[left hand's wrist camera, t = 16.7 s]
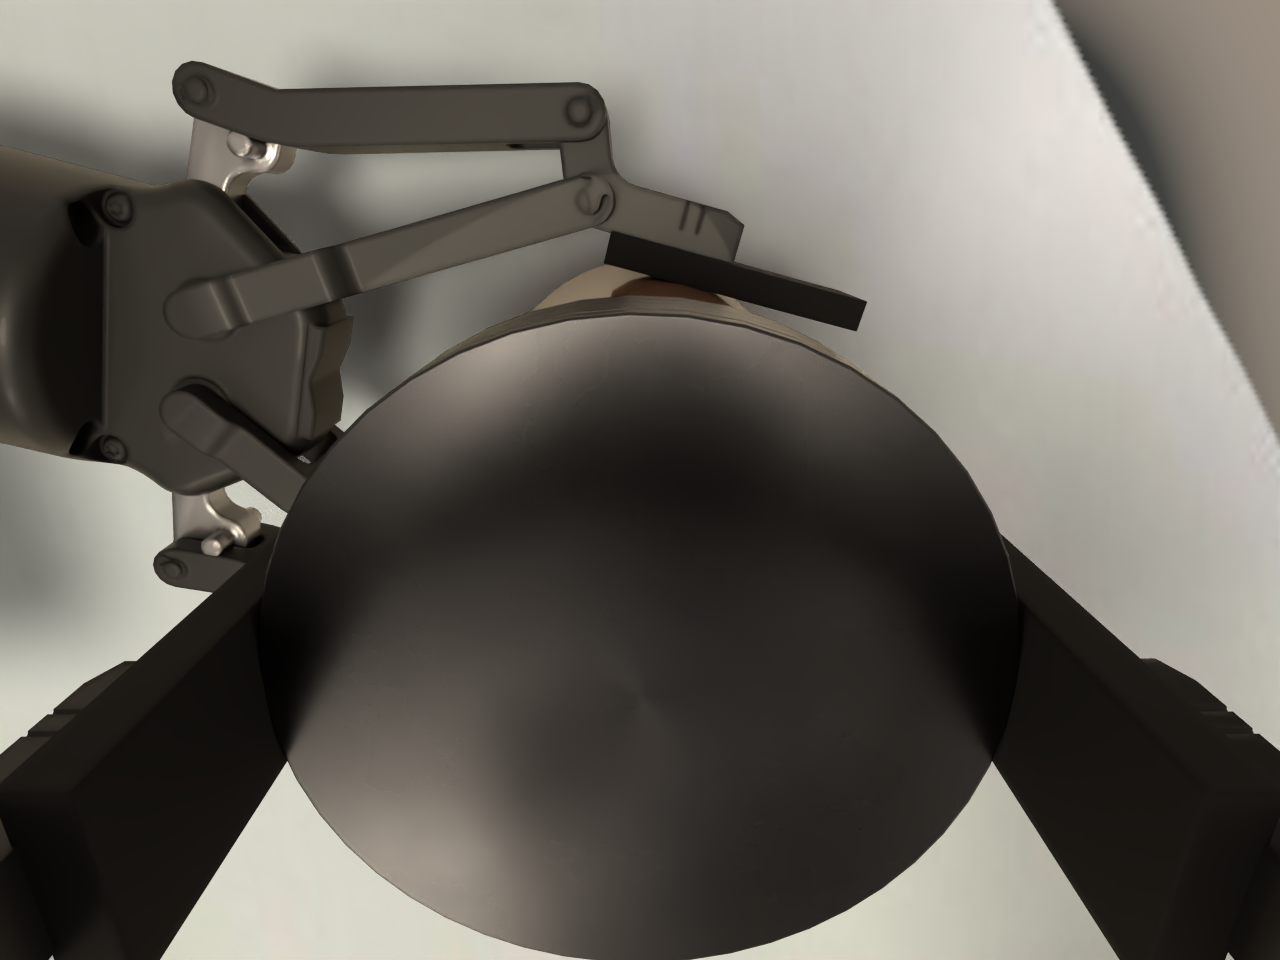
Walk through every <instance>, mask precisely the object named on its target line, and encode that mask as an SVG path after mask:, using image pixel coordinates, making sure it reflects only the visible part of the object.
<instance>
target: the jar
mask: <svg viewBox="0 0 1280 960" xmlns="http://www.w3.org/2000/svg"><path fill="white" fill-rule="evenodd" d="M627 295H638V296H661V297H681V298H687V299H692V300H698V301H704V302H709V303H715V304H720V305H726V306H730V307H733V308H736V309H739V310H743V311H746V312H749V311H748V310H747V309H745V308H744V307H743V306H742V305H741V304H740V303H739V302H738V301H737V300H736V299H734V298H730V297H727V296H723V295H719V294H715V293H712V292H708V291H704V290H701V289H697V288H693V287H689V286H686V285H682V284H678V283H675V282H671V281H667V280H663V279H660V278H656V277H652V276H649V275H645V274H641V273H637V272H634V271H630V270H626V269H623V268H619V267H615V266H611V265H608V264H607V265H604V266H600V267H596V268H594V269H591V270H589V271H586V272H584V273H581V274H579V275H577V276H576V277H574V278H572V279H570V280H569V281H567V282H565V283H564V284H562V285H561V286H560V287H558V288H557V289H556V290H555V291H553V292H552V293H551V294H549V295H548V296H547V297H546V298H545V299H544V300H543V301H542V302H541V303H540V304H538V305H537V306H536V307H535V308H534V309H533V310H532V311H534V310H539V309H543V308H547V307H552V306H556V305H560V304H565V303H569V302H573V301H578V300H584V299H594V298H605V297H616V296H627ZM749 313H750V312H749Z"/></svg>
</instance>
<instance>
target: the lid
mask: <svg viewBox="0 0 1280 960" xmlns="http://www.w3.org/2000/svg"><path fill="white" fill-rule="evenodd" d="M1020 646H1021V643H1020V624H1019V606H1018V597H1017V592H1016V588H1015V583H1014V578H1013V574H1012V569H1011V564H1010V560H1009V556H1008V553H1007V550H1006V548H1005V545H1004V543H1003V540H1002V538H1001V535H1000V532H999V530H998V527H997V525H996V522H995V520H994V517H993V514H992V512H991V510H990V509H989V507H988V505H987V504H986V502H985V500H984V498H983V497H982V495H981V493H980V492H979V490H978V488H977V486H976V485H975V483H974V481H973V480H972V478H971V476H970V475H969V473H968V471H967V470H966V469H965V467H964V466H963V465H962V464H961V463H960V461H959V460H958V459H957V458H956V456H955V455H954V454H953V453H952V451H951V450H950V449H949V448H948V447H947V445H946V444H945V443H944V442H943V440H942V439H941V438H940V437H939V435H938V434H937V433H936V432H935V431H934V430H933V429H932V428H931V427H930V426H928V425H927V424H926V423H925V422H924V421H923V420H922V419H921V418H920V417H919V416H917V415H916V414H915V413H914V412H913V411H912V410H911V409H910V408H909V407H908V406H906V405H905V404H904V403H903V402H902V401H901V400H900V399H899V398H898V397H896V396H895V395H894V394H892V393H891V392H889V391H888V390H887V389H885V388H884V387H883V386H881V385H880V384H878V383H877V382H876V381H874V380H873V379H871V378H870V377H869V376H867V375H866V374H864V373H863V372H862V371H860V370H859V369H858V368H856V367H855V366H853V365H852V364H850V363H849V362H847V361H846V360H844V359H843V358H841V357H840V356H838V355H837V354H835V353H834V352H832V351H831V350H829V349H828V348H826V347H825V346H823V345H822V344H820V343H819V342H817V341H815V340H813V339H811V338H809V337H807V336H805V335H803V334H801V333H799V332H797V331H795V330H793V329H790V328H788V327H786V326H784V325H782V324H780V323H778V322H776V321H774V320H770V319H767V318H764V317H761V316H758V315H755V314H752V313H749V312H746V311H743V310H739V309H736V308H733V307H730V306H726V305H720V304H715V303H709V302H704V301H698V300H692V299H687V298H681V297H661V296H638V295H627V296H616V297H605V298H594V299H584V300H578V301H573V302H569V303H565V304H560V305H556V306H552V307H547V308H543V309H539V310H534V311H531V312H529V313H526V314H523V315H521V316H518V317H515V318H513V319H510V320H508V321H505V322H502V323H500V324H497V325H494V326H492V327H489V328H487V329H485V330H483V331H482V332H480V333H478V334H476V335H474V336H472V337H471V338H469V339H467V340H465V341H463V342H462V343H460V344H458V345H456V346H454V347H452V348H451V349H449V350H447V351H445V352H444V353H443V354H441V355H440V356H439V357H437V358H436V359H434V360H433V361H432V362H430V363H429V364H427V365H426V366H425V367H423V368H422V369H420V370H419V371H418V372H416V373H415V374H414V375H412V376H411V377H409V378H408V379H407V380H405V381H404V382H403V383H401V384H400V385H399V386H397V387H396V388H395V389H393V390H392V391H391V392H389V393H388V394H387V395H385V396H384V397H383V398H381V399H380V400H379V401H377V402H376V403H375V404H373V405H372V406H371V407H369V408H368V409H367V410H366V411H365V412H364V413H363V414H362V415H361V416H360V417H359V418H358V419H357V420H356V421H355V422H354V423H353V424H352V425H351V426H350V427H349V428H348V429H347V430H346V431H345V432H344V433H343V434H342V435H341V436H340V437H339V438H338V439H337V440H336V441H335V442H334V443H333V444H332V445H331V446H330V448H329V449H328V451H327V452H326V453H325V455H324V456H323V457H322V459H321V460H320V462H319V463H318V464H317V466H316V467H315V468H314V470H313V471H312V473H311V474H310V475H309V477H308V478H307V480H306V481H305V482H304V484H303V485H302V486H301V488H300V490H299V492H298V494H297V496H296V498H295V500H294V502H293V504H292V506H291V508H290V510H289V512H288V514H287V516H286V518H285V520H284V522H283V524H282V526H281V528H280V530H279V533H278V537H277V540H276V543H275V546H274V549H273V552H272V555H271V558H270V561H269V565H268V568H267V571H266V575H265V582H264V588H263V595H262V601H261V608H260V614H259V662H260V668H261V674H262V680H263V685H264V690H265V695H266V700H267V705H268V709H269V713H270V717H271V720H272V723H273V726H274V729H275V732H276V736H277V739H278V742H279V744H280V746H281V748H282V750H283V752H284V755H285V757H286V759H287V761H288V763H289V765H290V767H291V769H292V771H293V773H294V775H295V777H296V779H297V781H298V782H299V784H300V786H301V787H302V789H303V790H304V792H305V793H306V795H307V796H308V798H309V799H310V801H311V802H312V804H313V805H314V807H315V808H316V810H317V811H318V813H319V814H320V815H321V817H322V818H323V819H324V820H325V821H326V822H327V824H328V825H329V826H330V827H331V828H332V829H333V831H334V832H335V833H336V834H337V835H338V836H339V837H340V839H341V840H342V841H343V842H344V843H345V844H346V846H348V847H349V848H350V849H351V850H352V851H353V852H354V853H355V854H356V855H357V856H359V857H360V858H361V859H362V860H363V861H364V862H365V863H366V864H367V865H368V866H369V867H371V868H372V869H373V870H374V871H375V872H376V873H377V874H379V875H380V876H381V877H383V878H384V879H386V880H387V881H388V882H390V883H391V884H393V885H394V886H395V887H397V888H398V889H399V890H401V891H402V892H404V893H405V894H406V895H408V896H409V897H411V898H412V899H414V900H416V901H418V902H419V903H421V904H423V905H425V906H426V907H428V908H430V909H432V910H433V911H435V912H437V913H439V914H440V915H442V916H444V917H446V918H448V919H450V920H452V921H455V922H457V923H459V924H462V925H464V926H466V927H468V928H471V929H473V930H475V931H477V932H480V933H482V934H484V935H487V936H490V937H494V938H497V939H500V940H503V941H506V942H509V943H512V944H515V945H518V946H521V947H525V948H529V949H534V950H538V951H543V952H547V953H552V954H556V955H561V956H566V957H574V958H582V959H590V960H692V959H698V958H704V957H711V956H717V955H723V954H729V953H734V952H737V951H741V950H745V949H749V948H753V947H757V946H760V945H764V944H768V943H772V942H774V941H777V940H780V939H783V938H785V937H788V936H791V935H793V934H796V933H799V932H802V931H804V930H807V929H810V928H812V927H814V926H816V925H818V924H820V923H822V922H824V921H826V920H828V919H830V918H832V917H834V916H836V915H838V914H841V913H843V912H845V911H847V910H848V909H850V908H852V907H853V906H855V905H856V904H858V903H860V902H861V901H863V900H864V899H866V898H868V897H869V896H871V895H872V894H874V893H876V892H877V891H879V890H880V889H882V888H883V887H885V886H886V885H887V884H888V883H890V882H891V881H892V880H893V879H895V878H896V877H897V876H898V875H900V874H901V873H902V872H904V871H905V870H906V869H907V868H909V867H910V866H911V865H912V864H914V863H915V862H916V861H917V860H918V859H919V858H920V857H921V856H922V855H923V854H924V853H925V852H926V851H927V850H928V849H929V848H930V847H931V846H932V845H933V844H934V843H935V842H936V841H937V840H938V839H939V838H940V837H941V836H942V835H943V834H944V833H945V831H946V830H947V829H948V827H949V826H950V825H951V824H952V822H953V821H954V820H955V818H956V817H957V816H958V815H959V813H960V812H961V811H962V810H963V808H964V807H965V806H966V804H967V803H968V802H969V800H970V799H971V797H972V795H973V794H974V792H975V790H976V788H977V787H978V785H979V783H980V782H981V780H982V778H983V777H984V775H985V773H986V772H987V770H988V768H989V766H990V764H991V762H992V760H993V757H994V755H995V752H996V750H997V748H998V745H999V743H1000V740H1001V738H1002V736H1003V733H1004V731H1005V728H1006V725H1007V721H1008V717H1009V713H1010V710H1011V706H1012V701H1013V697H1014V692H1015V688H1016V682H1017V675H1018V665H1019V656H1020Z"/></svg>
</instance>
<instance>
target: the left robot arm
mask: <svg viewBox="0 0 1280 960" xmlns="http://www.w3.org/2000/svg"><path fill="white" fill-rule="evenodd" d="M1000 535H1001V534H1000ZM277 537H278V535H277V536H276V537H275V538H274V539H273V540H271V541H270V542H269V543H268V544H267V545H266V546H265V547H264V548H263V549H261V550H260V551H259V552H258V553H257V554H256V555H255V556H254V557H252V558H251V559H250V560H249V561H248V562H247V563H246V564H245V565H244V566H242V567H241V568H240V569H239V570H238V571H237V572H236V573H235V574H233V575H232V576H231V577H230V578H229V579H228V580H227V581H226V582H225V583H223V584H222V585H221V586H220V587H219V588H218V589H217V590H216V591H214V592H213V593H212V594H211V595H210V596H209V597H208V598H207V599H205V600H204V601H203V602H202V603H201V604H200V605H199V606H198V607H197V608H195V609H194V610H193V611H192V612H191V613H190V614H189V615H188V616H186V617H185V618H184V619H183V620H182V621H181V622H180V623H179V624H178V625H176V626H175V627H174V628H173V629H172V630H171V631H170V632H169V633H167V634H166V635H165V636H164V637H163V638H162V639H161V640H160V641H159V642H157V643H156V644H155V645H154V646H153V647H152V648H151V649H150V650H148V651H147V652H146V653H145V654H144V655H143V656H142V657H141V658H140V659H138V660H137V661H124V662H122V663H121V664H119V665H117V666H115V667H113V668H111V669H110V670H108V671H106V672H104V673H102V674H100V675H99V676H97V677H95V678H93V679H91V680H89V681H88V682H86V683H84V684H83V685H82V686H80V687H79V688H78V689H77V690H76V691H75V692H73V693H72V694H71V695H70V696H69V697H67V698H66V699H65V700H64V701H63V702H62V703H60V704H59V705H58V706H57V707H56V708H55V709H54V712H53V714H47V715H46V716H45V717H44V718H43V719H42V720H40V721H39V722H38V723H37V724H36V725H35V726H33V727H32V728H31V729H30V730H29V731H28V735H27V737H20V738H19V739H18V740H17V741H16V742H15V743H13V744H12V745H11V746H10V747H9V748H7V749H6V750H5V751H4V752H3V753H2V754H0V960H49V958H50V957H51V956H52V955H53V958H54V960H160V959H161V957H162V956H163V954H164V953H165V951H166V949H167V948H168V946H169V945H170V943H171V942H172V940H173V939H174V937H175V935H176V934H177V932H178V931H179V929H180V928H181V926H182V924H183V923H184V921H185V920H186V918H187V917H188V915H189V914H190V912H191V910H192V909H193V907H194V906H195V904H196V903H197V901H198V900H199V898H200V896H201V895H202V893H203V892H204V890H205V889H206V887H207V885H208V884H209V882H210V881H211V879H212V878H213V876H214V875H215V873H216V871H217V870H218V868H219V867H220V865H221V864H222V862H223V861H224V859H225V857H226V856H227V854H228V853H229V851H230V850H231V848H232V846H233V845H234V843H235V842H236V840H237V839H238V837H239V836H240V834H241V832H242V831H243V829H244V828H245V826H246V825H247V823H248V822H249V820H250V818H251V817H252V815H253V814H254V812H255V811H256V809H257V807H258V806H259V804H260V803H261V801H262V800H263V798H264V797H265V795H266V793H267V792H268V790H269V789H270V787H271V786H272V784H273V782H274V781H275V779H276V778H277V776H278V775H279V773H280V772H281V770H282V768H283V767H284V765H285V764H286V762H287V759H286V757H285V755H284V752H283V750H282V748H281V746H280V744H279V742H278V739H277V736H276V732H275V729H274V726H273V723H272V720H271V717H270V713H269V709H268V705H267V700H266V695H265V690H264V685H263V680H262V674H261V668H260V662H259V614H260V608H261V601H262V595H263V588H264V582H265V575H266V571H267V568H268V565H269V561H270V558H271V555H272V552H273V549H274V546H275V543H276V540H277ZM1001 538H1002V540H1003V543H1004V545H1005V548H1006V550H1007V553H1008V556H1009V560H1010V564H1011V569H1012V574H1013V578H1014V583H1015V588H1016V592H1017V597H1018V606H1019V624H1020V643H1021V646H1020V656H1019V665H1018V675H1017V682H1016V688H1015V692H1014V697H1013V701H1012V706H1011V710H1010V713H1009V717H1008V721H1007V725H1006V728H1005V731H1004V733H1003V736H1002V738H1001V740H1000V743H999V745H998V748H997V750H996V752H995V755H994V757H993V760H992V761H993V763H994V764H995V766H996V768H997V769H998V771H999V772H1000V774H1001V775H1002V777H1003V779H1004V780H1005V782H1006V783H1007V785H1008V786H1009V788H1010V789H1011V791H1012V793H1013V794H1014V796H1015V797H1016V799H1017V800H1018V802H1019V803H1020V805H1021V807H1022V808H1023V810H1024V811H1025V813H1026V814H1027V816H1028V818H1029V819H1030V821H1031V822H1032V824H1033V825H1034V827H1035V828H1036V830H1037V832H1038V833H1039V835H1040V836H1041V838H1042V839H1043V841H1044V842H1045V844H1046V846H1047V847H1048V849H1049V850H1050V852H1051V853H1052V855H1053V857H1054V858H1055V860H1056V861H1057V863H1058V864H1059V866H1060V867H1061V869H1062V871H1063V872H1064V874H1065V875H1066V877H1067V878H1068V880H1069V882H1070V883H1071V885H1072V886H1073V888H1074V889H1075V891H1076V892H1077V894H1078V896H1079V897H1080V899H1081V900H1082V902H1083V903H1084V905H1085V906H1086V908H1087V910H1088V911H1089V913H1090V914H1091V916H1092V917H1093V919H1094V921H1095V922H1096V924H1097V925H1098V927H1099V928H1100V930H1101V931H1102V933H1103V935H1104V936H1105V938H1106V939H1107V941H1108V942H1109V944H1110V945H1111V947H1112V949H1113V950H1114V952H1115V953H1116V955H1117V956H1118V958H1119V960H1225V959H1226V956H1227V953H1228V952H1229V954H1230V955H1231V956H1232V957H1233V959H1234V960H1280V751H1279V750H1278V749H1276V748H1275V747H1274V746H1273V745H1272V744H1271V743H1269V742H1268V741H1267V740H1266V739H1265V738H1263V737H1262V736H1261V735H1260V734H1254V733H1253V731H1252V727H1250V726H1249V725H1248V724H1247V723H1246V722H1244V721H1243V720H1242V719H1241V718H1240V717H1239V716H1237V715H1236V714H1235V713H1234V712H1228V711H1227V709H1226V708H1227V706H1225V705H1224V704H1223V703H1222V702H1221V701H1220V700H1218V699H1217V698H1216V697H1215V696H1214V695H1212V694H1211V693H1210V692H1209V691H1208V690H1207V689H1205V688H1204V687H1203V686H1202V685H1201V684H1199V683H1198V682H1197V681H1196V680H1194V679H1192V678H1190V677H1188V676H1187V675H1185V674H1183V673H1181V672H1179V671H1177V670H1175V669H1174V668H1172V667H1170V666H1168V665H1166V664H1164V663H1162V662H1161V661H1159V660H1157V659H1140V658H1139V657H1138V656H1137V655H1136V654H1134V653H1133V652H1132V651H1131V650H1130V649H1129V648H1128V647H1127V646H1125V645H1124V644H1123V643H1122V642H1121V641H1120V640H1119V639H1118V638H1117V637H1115V636H1114V635H1113V634H1112V633H1111V632H1110V631H1109V630H1108V629H1106V628H1105V627H1104V626H1103V625H1102V624H1101V623H1100V622H1099V621H1097V620H1096V619H1095V618H1094V617H1093V616H1092V615H1091V614H1090V613H1089V612H1087V611H1086V610H1085V609H1084V608H1083V607H1082V606H1081V605H1080V604H1078V603H1077V602H1076V601H1075V600H1074V599H1073V598H1072V597H1071V596H1070V595H1068V594H1067V593H1066V592H1065V591H1064V590H1063V589H1062V588H1061V587H1059V586H1058V585H1057V584H1056V583H1055V582H1054V581H1053V580H1052V579H1051V578H1049V577H1048V576H1047V575H1046V574H1045V573H1044V572H1043V571H1042V570H1040V569H1039V568H1038V567H1037V566H1036V565H1035V564H1034V563H1033V562H1032V561H1030V560H1029V559H1028V558H1027V557H1026V556H1025V555H1024V554H1023V553H1021V552H1020V551H1019V550H1018V549H1017V548H1016V547H1015V546H1014V545H1013V544H1011V543H1010V542H1009V541H1008V540H1007V539H1006V538H1005V537H1004V536H1002V535H1001Z"/></svg>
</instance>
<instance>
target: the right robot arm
mask: <svg viewBox="0 0 1280 960" xmlns="http://www.w3.org/2000/svg"><path fill="white" fill-rule="evenodd" d="M172 87H173V94H174V96H175V99H176V101H177V103H178V105H179V106H180V107H181V108H182V109H183V110H184V111H185V113H187V114H189V115H190V116H192V117H194V122H193V131H192V139H191V148H190V156H189V164H188V173H187V179H182V180H177V181H173V182H171V183H167V184H164V185H159V186H155V185H151V184H147V183H143V182H139V181H136V180H132V179H128V178H124V177H121V176H117V175H113V174H109V173H105V172H102V171H98V170H94V169H90V168H86V167H83V166H79V165H75V164H71V163H68V162H64V161H60V160H56V159H52V158H49V157H45V156H41V155H37V154H34V153H30V152H26V151H22V150H18V149H15V148H10V147H5V146H0V443H4V444H9V445H13V446H17V447H22V448H26V449H30V450H35V451H39V452H43V453H48V454H52V455H56V456H61V457H65V458H71V459H77V460H85V461H95V462H105V463H113V464H120V465H125V466H128V467H130V468H133V469H135V470H137V471H139V472H141V473H142V474H144V475H146V476H147V477H149V478H150V479H152V480H153V481H154V482H155V483H157V484H158V485H159V486H161V487H162V488H164V489H166V490H167V491H170V492H172V504H173V531H174V541H173V543H171V544H170V545H169V546H167V547H166V548H164V549H163V550H162V551H160V552H159V553H158V554H157V555H156V557H155V558H154V563H153V566H154V570H155V573H156V574H157V575H158V577H159V578H160V579H161V580H162V581H164V582H165V583H166V584H169V585H172V586H175V587H180V588H187V589H193V590H199V591H206V592H212V593H213V592H214V591H216V590H217V589H218V588H219V587H220V586H221V585H222V584H223V583H225V582H226V581H227V580H228V579H229V578H230V577H231V576H232V575H233V574H235V573H236V572H237V571H238V570H239V569H240V568H241V567H242V566H244V565H245V564H246V563H247V562H248V561H249V560H250V559H251V558H252V557H254V556H255V555H256V554H257V553H258V552H259V551H260V550H261V549H263V548H264V547H265V546H266V545H267V544H268V543H269V542H270V541H271V540H273V539H274V538H275V537H276V536H277V535H278V533H279V530H280V527H277V526H274V525H269V524H264V523H260V522H261V519H262V516H261V513H260V512H259V511H258V510H257V509H255V508H252V507H249V508H246V509H245V508H243V507H241V506H238V505H236V504H235V503H234V502H232V501H231V500H230V498H229V497H228V496H227V494H226V492H225V488H224V487H226V486H229V485H231V484H234V483H237V482H239V481H242V480H244V481H245V482H247V483H248V484H249V485H251V486H252V487H253V488H254V489H256V490H257V491H258V492H260V493H261V494H262V495H264V496H265V497H266V498H267V499H269V500H270V501H271V502H273V503H274V504H275V505H276V506H278V507H279V508H280V509H282V510H283V511H285V512H286V513H288V512H289V510H290V508H291V506H292V504H293V502H294V500H295V498H296V496H297V494H298V492H299V490H300V488H301V486H302V485H303V484H304V482H305V481H306V480H307V478H308V477H309V475H310V474H311V473H312V471H313V470H314V468H315V467H316V466H317V464H318V463H319V462H320V460H321V459H322V457H323V456H324V455H325V453H326V452H327V451H328V449H329V448H330V446H331V445H332V444H333V443H334V442H335V441H336V440H337V439H338V438H339V437H340V436H341V435H342V434H343V433H344V432H343V431H342V430H341V429H339V428H338V427H337V426H336V425H335V424H336V423H338V422H339V421H340V420H341V412H342V404H343V390H342V383H341V376H340V366H341V363H342V361H343V359H344V356H345V354H346V352H347V349H348V347H349V345H350V340H351V332H352V324H353V317H350V316H346V312H345V308H344V305H343V302H342V300H341V298H345V297H348V296H352V295H355V294H359V293H362V292H366V291H369V290H373V289H376V288H380V287H384V286H387V285H391V284H394V283H398V282H401V281H405V280H408V279H412V278H415V277H419V276H422V275H426V274H429V273H433V272H436V271H440V270H443V269H447V268H451V267H454V266H458V265H461V264H465V263H468V262H472V261H475V260H479V259H482V258H486V257H489V256H493V255H496V254H500V253H503V252H507V251H510V250H514V249H517V248H521V247H525V246H528V245H532V244H535V243H539V242H542V241H546V240H549V239H553V238H556V237H560V236H563V235H567V234H570V233H574V232H577V231H581V230H584V229H588V228H595V229H599V230H603V231H606V232H610V233H611V235H610V239H609V244H608V248H607V252H606V257H605V261H604V264H608V265H611V266H615V267H619V268H623V269H626V270H630V271H634V272H637V273H641V274H645V275H649V276H652V277H656V278H660V279H663V280H667V281H671V282H675V283H678V284H682V285H686V286H689V287H693V288H697V289H701V290H704V291H708V292H712V293H715V294H719V295H723V296H727V297H730V298H734V299H738V300H741V301H745V302H749V303H753V304H756V305H760V306H764V307H767V308H771V309H775V310H779V311H782V312H786V313H790V314H793V315H797V316H801V317H805V318H808V319H812V320H816V321H819V322H823V323H827V324H831V325H834V326H838V327H842V328H845V329H849V330H853V331H857V329H858V326H859V323H860V320H861V318H862V315H863V312H864V309H865V306H866V304H867V302H866V301H864V300H861V299H859V298H856V297H854V296H851V295H849V294H846V293H844V292H841V291H838V290H835V289H831V288H827V287H824V286H820V285H816V284H813V283H809V282H805V281H802V280H798V279H794V278H791V277H787V276H783V275H780V274H776V273H773V272H769V271H765V270H762V269H758V268H754V267H751V266H747V265H743V264H740V263H736V262H734V259H735V256H736V252H737V249H738V245H739V242H740V239H741V235H742V232H743V228H744V224H742V223H741V222H740V221H739V220H737V219H736V218H735V217H734V216H732V215H731V214H730V213H729V212H727V211H724V210H720V209H717V208H713V207H710V206H706V205H703V204H699V203H695V202H692V201H688V200H685V199H681V198H677V197H674V196H670V195H667V194H663V193H660V192H656V191H652V190H649V189H645V188H642V187H638V186H635V185H633V184H630V183H628V182H627V181H626V180H624V179H623V178H622V177H621V176H620V175H619V173H618V172H617V170H616V168H615V165H614V161H613V153H612V143H611V133H610V121H609V116H608V112H607V109H606V106H605V103H604V100H603V98H602V97H601V95H600V94H599V92H598V91H597V90H596V89H595V88H593V87H592V86H590V85H589V84H585V83H580V82H570V83H527V84H484V85H441V86H398V87H355V88H312V89H277V88H275V87H272V86H269V85H266V84H264V83H261V82H258V81H255V80H252V79H249V78H246V77H244V76H241V75H238V74H235V73H232V72H229V71H226V70H223V69H220V68H217V67H214V66H211V65H208V64H205V63H203V62H196V61H190V62H187V63H184V64H182V65H181V66H180V67H179V68H178V69H177V70H176V71H175V74H174V77H173V80H172ZM297 148H299V149H305V150H310V151H316V152H322V153H328V154H381V153H425V152H469V151H513V150H558V149H560V153H561V161H562V170H563V178H564V179H563V180H560V181H556V182H553V183H549V184H546V185H542V186H539V187H536V188H532V189H529V190H525V191H522V192H518V193H515V194H512V195H508V196H505V197H501V198H498V199H494V200H491V201H487V202H484V203H481V204H477V205H474V206H470V207H467V208H463V209H460V210H456V211H453V212H450V213H446V214H443V215H439V216H436V217H432V218H429V219H426V220H422V221H419V222H415V223H412V224H408V225H405V226H401V227H398V228H395V229H391V230H388V231H384V232H381V233H377V234H374V235H370V236H367V237H364V238H360V239H357V240H353V241H350V242H346V243H343V244H339V245H335V246H331V247H326V248H322V249H318V250H314V251H311V252H307V253H304V254H303V253H302V252H301V251H300V250H299V249H298V247H297V246H296V245H295V244H294V243H293V242H292V241H291V240H290V239H289V238H288V237H287V236H286V235H285V234H284V233H283V231H282V230H281V229H280V228H279V227H278V226H277V225H276V224H275V223H274V222H273V221H272V220H271V219H270V218H269V217H268V215H267V214H266V213H265V212H264V211H263V210H262V209H261V208H260V207H259V206H258V205H257V204H256V203H255V202H254V201H253V199H251V198H250V197H249V196H248V195H247V194H246V193H245V192H246V188H247V185H248V183H249V182H250V181H251V179H252V178H254V177H255V176H257V175H260V174H263V173H266V174H280V173H284V172H285V171H287V170H288V169H290V167H291V166H292V164H293V162H294V159H295V156H296V150H297ZM302 455H303V456H304V457H306V458H307V459H308V460H309V461H310V462H311V463H310V464H308V463H305V462H302V461H301V460H299V459H298V458H299V457H300V456H302Z"/></svg>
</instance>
